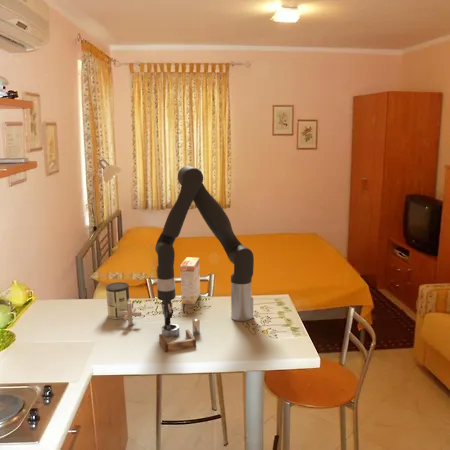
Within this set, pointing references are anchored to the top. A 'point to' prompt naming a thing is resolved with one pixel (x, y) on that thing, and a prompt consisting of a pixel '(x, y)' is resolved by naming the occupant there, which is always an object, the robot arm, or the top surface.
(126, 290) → the coffee can
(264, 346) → the top surface
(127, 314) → the pipe connector
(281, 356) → the top surface
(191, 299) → the coffeecake box
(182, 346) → the groove block
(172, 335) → the metal ring
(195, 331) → the beige rounded cylinder
